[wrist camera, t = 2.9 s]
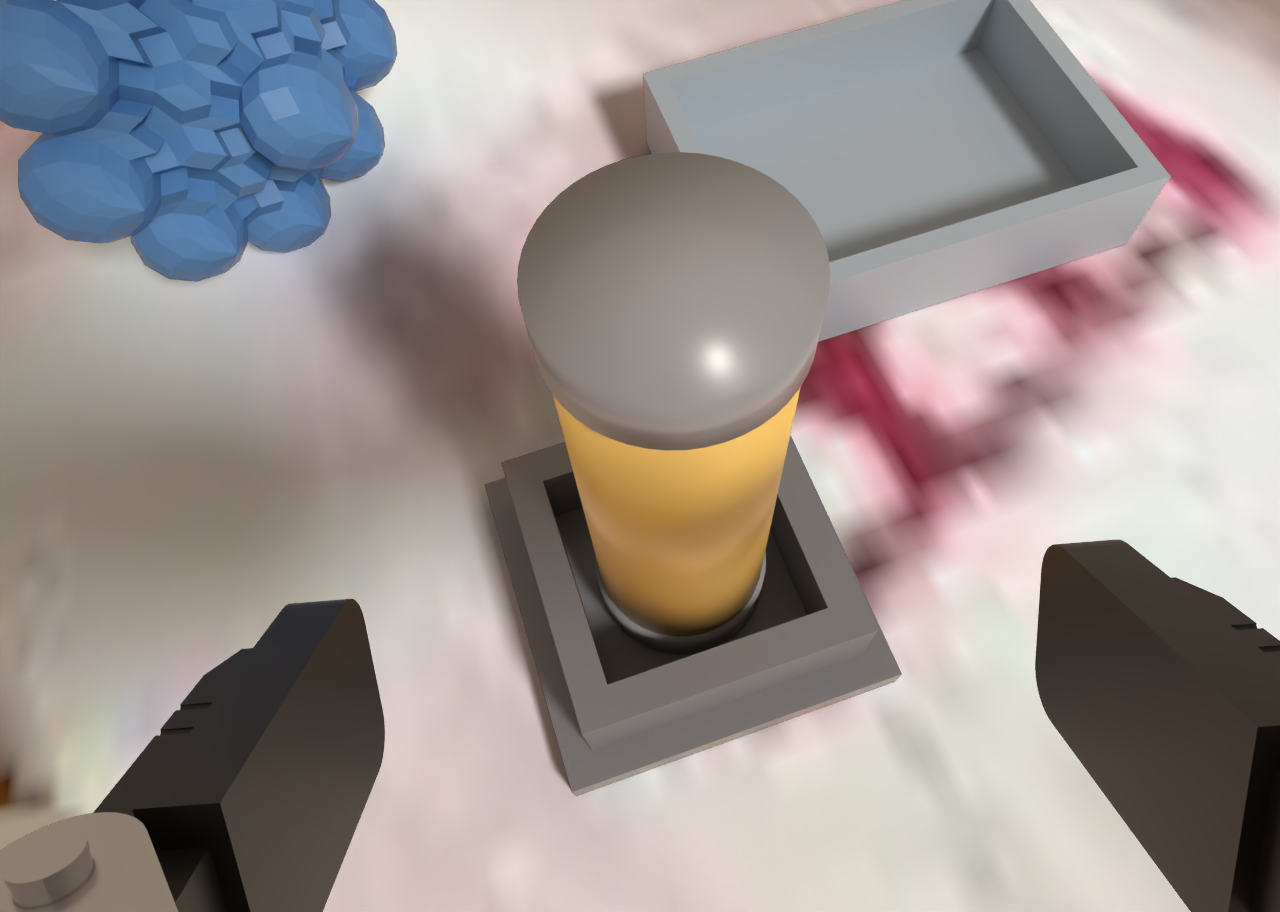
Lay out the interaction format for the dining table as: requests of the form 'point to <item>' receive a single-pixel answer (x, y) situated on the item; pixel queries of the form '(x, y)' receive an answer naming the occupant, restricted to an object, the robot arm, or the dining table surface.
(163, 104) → the grapes
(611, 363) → the cylinder
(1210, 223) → the dining table surface
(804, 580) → the socket block
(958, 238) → the tray
